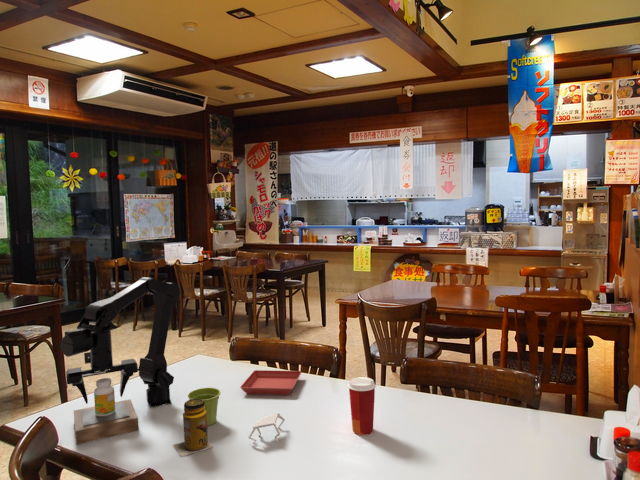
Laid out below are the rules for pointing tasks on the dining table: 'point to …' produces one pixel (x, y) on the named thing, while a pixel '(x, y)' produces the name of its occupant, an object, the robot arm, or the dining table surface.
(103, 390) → the supplement bottle
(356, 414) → the paper cup
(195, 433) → the condiment
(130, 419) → the framed mirror
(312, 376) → the dining table surface
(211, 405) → the plant pot
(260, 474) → the dining table surface
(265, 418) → the miniature table
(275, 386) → the plant saucer
